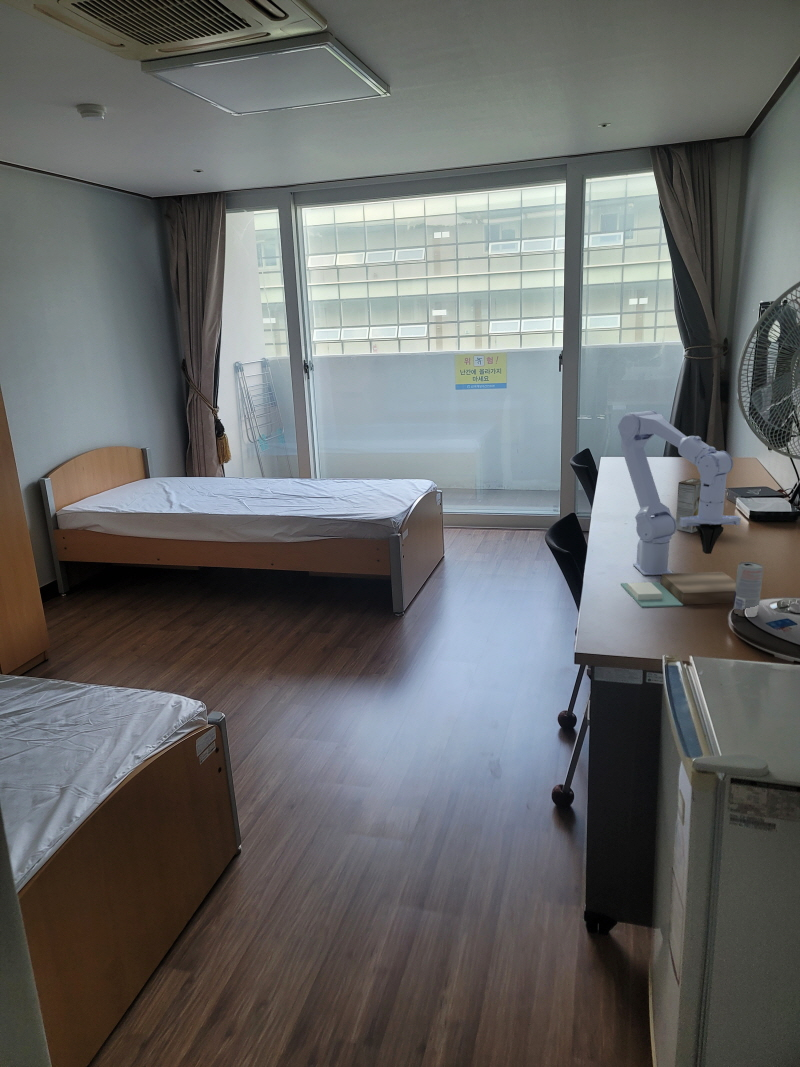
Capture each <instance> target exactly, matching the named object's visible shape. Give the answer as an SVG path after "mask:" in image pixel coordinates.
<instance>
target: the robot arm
mask: <svg viewBox="0 0 800 1067" xmlns="http://www.w3.org/2000/svg"><path fill="white" fill-rule="evenodd" d="M617 428H618V430H619V435H620V438H621V441H620V442H621V445H620V446H621V451H622V453H623V456H624V457H623V458H624V460H625V463H626V467H627V470H628V472H629V476H630V479H631V483H632V485H633V489H634V493H635V495H636V499H637V503H638V505H639V507H640V508H639V510H638V512H637V513H636V514H635V517H634V518H635V521H636V527H635V528H636V533H637V536H638V537H639V540H638V542H637V546H636V548H637V549H636V562H633V563H632V565H633V566H634V567H635V568H636V569H637V570H638V571H639V572H640V573H641V574H642V575H643V576H658V575H659V576H662V574H673V573H674V572H673V571H671V569H670V568H668V567H669V565H668V564H669V556H670V555H669V553H670V541H671V540H672V536H673V535H674V534H675V533H676V531H677V530H676V529H677V523H676V517H674V516H673V515H672V513H671V510H670V508H669V507H668V506H667V505H665V504H664V503H663V502H661V499H660V496H659V492H658V490H657V486H656V484H655V483H656V482H655V479H654V476H653V473H652V470H651V468H650V463H649V461H648V458H647V454H646V451H645V447H646V445H647V443H648V442H649V441H650V440H651V439H652V438H653V437H654V435H656V436H657V437H659V438H661V439H663V440H664V441H666V442H668V443H669V444H671V445H672V446H674V447H676V448H677V450H678V451H677V452H678V454H679V455H680V456H681V457H682V458H684V459H686V461H688V462H690V463H691V464H692V465H694V466H695V467H696V468H697V472H698V473H699V476H700V477H699V479H700V481H701V490H700V500H699V511H698V516H691V517H683V518H680V524H679V525H680V526H682V527H686V526H696V529H697V531H696V532H697V533H698V535H699V536H698V537H699V538H700V542H701V548H702V553H705V554H708V555H710V554H712V552H713V550H714V547H715V545H716V543H717V540H718V539H719V537H720V536H721V535H722V533H723V532H724V527H723V526H726V525H727V526H729V525H730V526H731V525H733V526H734V525H735V526H741V519H742V518H741V517H740V516H738V515H724V509H725V507H724V506H725V500H726V498H725V497H726V488H727V478H728V474H729V473H730V472H731V471H732V470H733V468H734V467H733V466H734V460H733V458H732V456H731V455H730V454H729V453H728V452H727V451H725V450H720V451H719V450H716V447H714V446H710V445H709V444H707V443H706V442H704V441H702V437H701V436H699V435H689V436H687V435H685V434H684V433H683V432H681V431H680V430H679V429H677V427H675V426H673V424H671V423H670V422H669V421H667V420H666V419H664V415H663V414H660V413H659V412H657V411H656V410H653V409H649V410H646V411H645V410H644V411H637V412H627V413H626V412H625V414H623V415H622V416H621V419H620V420H619V423H618V425H617Z"/></svg>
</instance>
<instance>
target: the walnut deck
mask: <svg viewBox="0 0 800 1067" xmlns="http://www.w3.org/2000/svg"><path fill="white" fill-rule="evenodd" d="M660 580H661V581H660V584H661V585H662V586H663V587H665V588H666V589H667V590H668V591H669V592H670V593H671V594H672V595H673V596H674V597H675V598H676V599H678V600H679V601H680V602H681V603H682V604H683V605H707V604H734V596H735V587H736V580H735V579H733V578H732V577H731V576H730V575H728V574H727V573H725V572H724V571H710V572H709V571H708V572H706V571H705V572H680V573H679V572H676V573H674V572H673V574H662V575H661V578H660Z"/></svg>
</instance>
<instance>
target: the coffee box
mask: <svg viewBox="0 0 800 1067" xmlns="http://www.w3.org/2000/svg"><path fill="white" fill-rule="evenodd" d="M700 490H701V481H700V478H694V477H692V478H688V479H685V480H682V481H679V482H678V487H677V497H676V498H677V500H676V501H677V502H676V515H675V520H676V523H677V529H676V531H681V532H686V533H691V534H692V533H695V532H698V531H697V529H696V526H686V527H682V526H680V525H679V524H680V518H683V517H691V516H698V511H699V500H700Z"/></svg>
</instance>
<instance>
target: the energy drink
mask: <svg viewBox="0 0 800 1067" xmlns="http://www.w3.org/2000/svg"><path fill="white" fill-rule="evenodd" d="M763 575H764V568H763V565H762V563H758V562H753V561H741V562H739V563H738V566H737V569H736V580H735V581H736V587H735V596H734V603H733V606H732V610H733V609H740V610H743V609H746V608H750V607H755V606H757V605H759V606H760V601H761V593H762V592H761V591H762V584H763V578H764V577H763Z"/></svg>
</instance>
